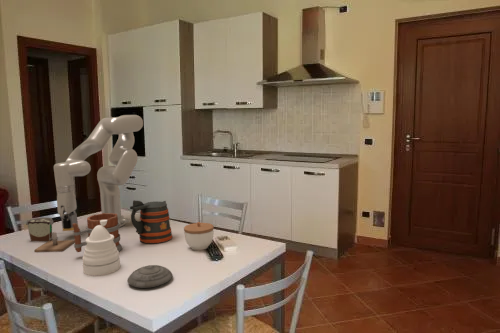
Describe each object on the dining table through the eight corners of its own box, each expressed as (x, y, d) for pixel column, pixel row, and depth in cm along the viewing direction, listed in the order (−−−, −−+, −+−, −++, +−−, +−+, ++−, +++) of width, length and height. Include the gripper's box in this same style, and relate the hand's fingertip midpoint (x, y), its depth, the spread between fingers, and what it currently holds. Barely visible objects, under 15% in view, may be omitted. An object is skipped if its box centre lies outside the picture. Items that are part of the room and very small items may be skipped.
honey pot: (108, 259, 152) (105, 215, 150) (127, 267, 144) (123, 220, 142) (76, 270, 142) (72, 223, 140) (94, 278, 134) (90, 229, 132)
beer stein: (145, 249, 163) (142, 203, 160) (124, 243, 172) (121, 199, 169) (178, 237, 178) (176, 195, 175) (158, 232, 187) (155, 192, 184)
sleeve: (78, 227, 184) (76, 213, 183) (73, 230, 179) (71, 216, 178) (67, 227, 184) (65, 213, 183) (62, 231, 179) (60, 216, 178)
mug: (128, 250, 163) (125, 215, 161) (82, 262, 149) (79, 225, 147) (113, 242, 172) (111, 210, 171) (68, 254, 159) (65, 219, 157)
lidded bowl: (219, 244, 167) (218, 219, 166) (204, 254, 156) (203, 227, 154) (195, 241, 173) (194, 217, 171) (178, 250, 161) (177, 224, 160)
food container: (60, 237, 182) (58, 217, 181) (52, 241, 176) (50, 220, 175) (36, 237, 183) (34, 217, 182) (27, 241, 177) (25, 220, 176)
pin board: (75, 242, 175) (74, 227, 174) (62, 251, 163) (61, 235, 162) (48, 242, 174) (47, 228, 174) (34, 252, 163) (32, 236, 162)
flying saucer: (118, 285, 129) (116, 269, 128) (150, 269, 142) (150, 255, 141) (149, 295, 121) (148, 278, 120) (181, 277, 134) (181, 262, 133)
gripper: (65, 185, 187) (70, 221, 190) (48, 193, 170) (53, 232, 173) (81, 184, 187) (85, 220, 190) (65, 192, 170) (70, 232, 173)
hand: (70, 226), depth 182 cm, fingers closed on sleeve, 5 cm apart
